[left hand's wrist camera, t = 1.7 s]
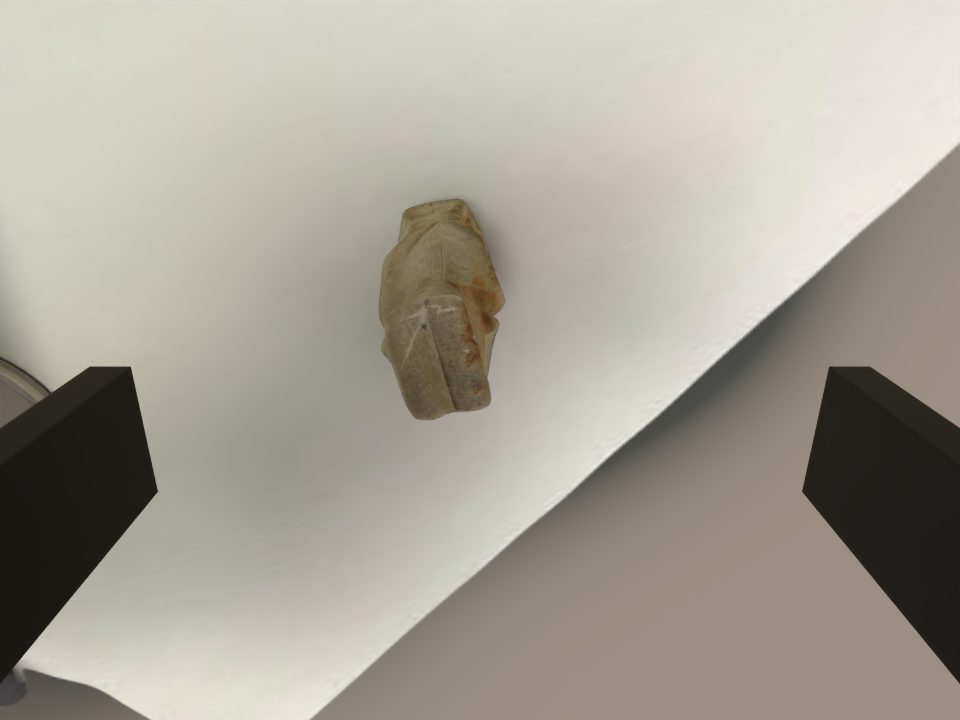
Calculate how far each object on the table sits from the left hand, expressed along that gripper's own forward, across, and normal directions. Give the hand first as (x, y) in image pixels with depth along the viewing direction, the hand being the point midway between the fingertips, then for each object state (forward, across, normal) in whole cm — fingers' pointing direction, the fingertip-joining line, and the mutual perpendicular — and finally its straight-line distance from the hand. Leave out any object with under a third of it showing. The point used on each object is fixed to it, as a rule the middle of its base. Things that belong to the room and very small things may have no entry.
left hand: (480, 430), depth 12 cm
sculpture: (+27, +2, +3) cm, 27 cm away
